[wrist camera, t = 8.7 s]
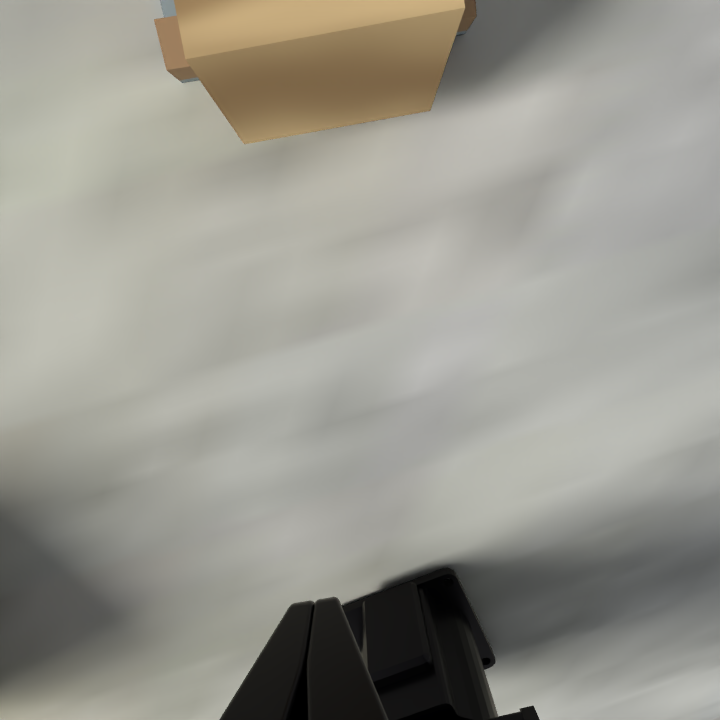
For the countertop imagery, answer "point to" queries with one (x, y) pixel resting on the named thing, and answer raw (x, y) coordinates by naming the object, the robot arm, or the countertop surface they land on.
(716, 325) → the countertop surface
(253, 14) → the oak block
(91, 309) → the countertop surface
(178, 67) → the slate mat
